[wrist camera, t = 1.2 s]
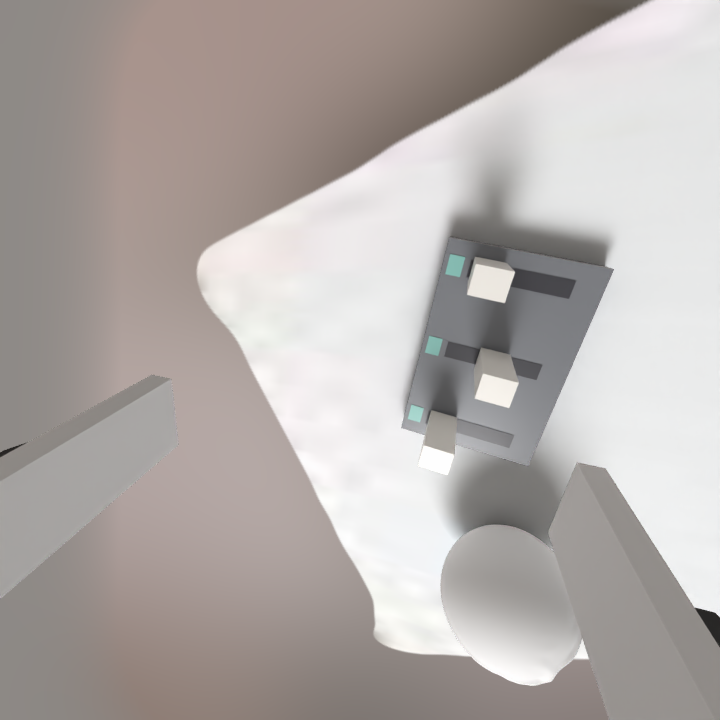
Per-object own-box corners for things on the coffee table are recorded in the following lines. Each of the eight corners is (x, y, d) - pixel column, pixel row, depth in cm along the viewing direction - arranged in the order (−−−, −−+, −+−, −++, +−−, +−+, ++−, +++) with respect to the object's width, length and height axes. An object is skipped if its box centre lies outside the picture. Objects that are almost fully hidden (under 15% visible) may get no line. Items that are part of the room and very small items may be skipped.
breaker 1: (457, 417, 33) (454, 454, 28) (451, 435, 34) (447, 475, 29) (431, 410, 34) (423, 445, 28) (426, 428, 34) (417, 465, 29)
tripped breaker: (510, 354, 30) (518, 383, 25) (502, 376, 31) (509, 408, 25) (480, 347, 30) (483, 373, 25) (474, 368, 31) (474, 398, 26)
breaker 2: (506, 262, 28) (515, 271, 22) (498, 288, 29) (504, 303, 23) (475, 256, 28) (475, 263, 23) (467, 282, 29) (466, 294, 24)
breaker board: (604, 266, 28) (614, 269, 26) (525, 454, 35) (528, 466, 33) (450, 236, 30) (449, 237, 29) (404, 418, 37) (401, 428, 36)
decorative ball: (492, 600, 42) (500, 728, 31) (422, 528, 42) (405, 633, 31) (589, 562, 37) (638, 700, 26) (511, 479, 36) (528, 586, 26)
